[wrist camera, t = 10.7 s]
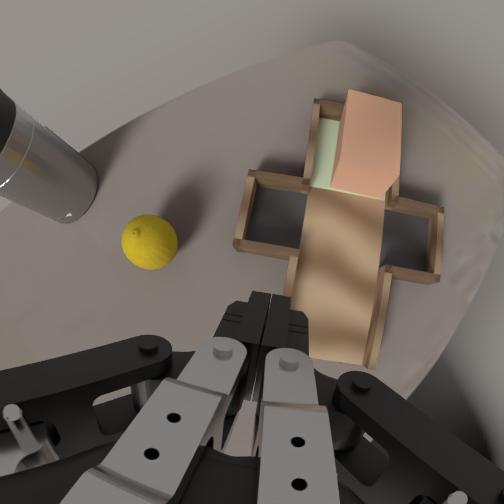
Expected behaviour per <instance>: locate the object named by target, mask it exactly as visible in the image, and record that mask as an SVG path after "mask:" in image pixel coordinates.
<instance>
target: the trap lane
mask: <svg viewBox="0 0 504 504" xmlns="http://www.w3.org/2000/svg"><path fill="white" fill-rule="evenodd" d="M344 105H345V104H344V103H339V102H333V101H328V100H322V99H316V98H314V104H313V112H312V119H311V126H310V134H309V141H308V148H307V155H306V161H305V168H304V175H303V177H297V176H291V175H285V174H278V173H271V172H264V171H257V170H250V169H249V171H248V176H247V180H246V185H245V189H244V194H243V199H242V203H241V208H240V213H239V217H238V222H237V227H236V232H235V237H234V241H233V247H234V248H235V249H236V251H239V252H245V253H251V254H256V255H262V256H268V257H274V258H279V259H285V260H289V266H288V271H287V277H286V282H285V288H284V293H283V296H288V297H291V306H290V310H297V311H303V312H304V314H305V315H306V316H307V318H308V319H309V327H308V328H309V334H308V335H309V357H310V358H317V359H323V360H330V361H337V362H344V363H352V364H360V365H363V366H364V367H366V368H367V369H373V370H375V369H376V365H377V360H378V355H379V351H380V346H381V340H382V335H383V330H384V324H385V318H386V312H387V306H388V300H389V293H390V286H391V278H393V279H399V280H405V281H410V282H416V283H422V284H428V285H429V284H434V283H438V282H440V275H441V263H442V249H443V228H444V207H440V206H436V205H433V204H429V203H425V202H421V201H416V200H412V199H408V198H404V197H399V177H398V178H397V179H396V180H395V182H394V183H393V184H392V185H391V186H390V188H389V189H388V190H387V191H386V194H385V201H383V200H379V199H374V198H369V197H364V196H359V195H354V194H349V193H344V192H339V191H333V190H328V189H322V188H317V187H311V186H310V180H311V173H312V165H313V158H314V151H315V143H316V135H317V127H318V119H319V118H324V119H330V120H336V121H340V119H341V116H342V112H343V108H344Z"/></svg>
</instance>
